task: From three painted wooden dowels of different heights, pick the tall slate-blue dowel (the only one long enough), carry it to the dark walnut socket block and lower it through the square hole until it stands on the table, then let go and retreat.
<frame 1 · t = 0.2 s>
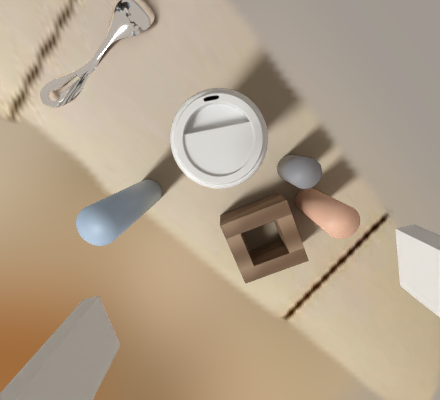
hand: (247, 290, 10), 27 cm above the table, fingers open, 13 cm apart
medium dowel: (308, 200, 37), on the table
short dowel: (290, 167, 36), on the table
silver metal utensil: (100, 59, 33), on the table
tall dowel: (149, 191, 37), on the table
coffee cup: (220, 141, 36), on the table
socket block: (259, 231, 39), on the table
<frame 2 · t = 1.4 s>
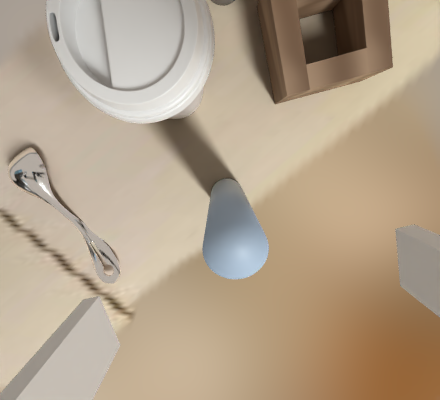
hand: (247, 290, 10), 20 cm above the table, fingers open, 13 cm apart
silver metal utensil: (76, 216, 31), on the table
tall dowel: (226, 193, 30), on the table
coffee cup: (175, 89, 27), on the table
socket block: (310, 45, 26), on the table
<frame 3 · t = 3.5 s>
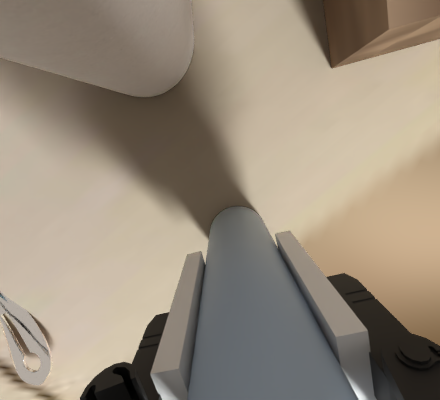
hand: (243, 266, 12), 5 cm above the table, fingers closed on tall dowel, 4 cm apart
tall dowel: (237, 233, 17), on the table, touching gripper
coffee cup: (141, 40, 14), on the table
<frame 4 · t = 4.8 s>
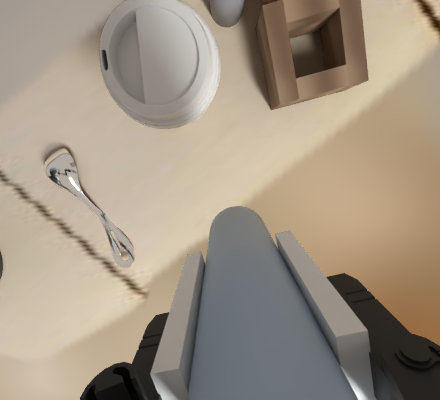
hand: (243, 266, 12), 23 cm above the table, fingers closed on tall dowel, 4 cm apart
short dowel: (226, 8, 29), on the table
silver metal utensil: (98, 208, 36), on the table
tall dowel: (237, 233, 17), point 18 cm above the table, touching gripper
coffee cup: (185, 97, 32), on the table
socket block: (301, 60, 30), on the table
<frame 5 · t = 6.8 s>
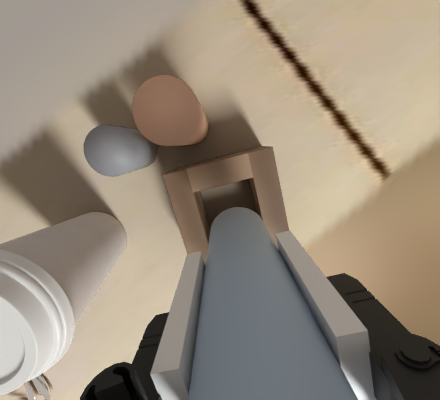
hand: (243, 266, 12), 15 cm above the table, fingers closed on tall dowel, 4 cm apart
medium dowel: (189, 125, 25), on the table
short dowel: (138, 149, 25), on the table
silver metal utensil: (11, 344, 32), on the table
tall dowel: (237, 233, 17), point 10 cm above the table, touching gripper
coffee cup: (100, 237, 28), on the table
socket block: (228, 201, 27), on the table
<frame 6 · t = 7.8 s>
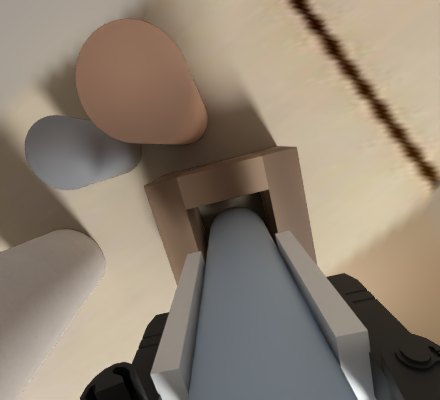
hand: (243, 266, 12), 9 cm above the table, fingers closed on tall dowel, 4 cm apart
medium dowel: (182, 119, 19), on the table
short dowel: (117, 150, 19), on the table
tall dowel: (237, 233, 17), point 4 cm above the table, touching gripper
coffee cup: (72, 260, 22), on the table
socket block: (233, 216, 21), on the table
when the fingers open (7 cm above the table, at t = 8.4 s): tall dowel drops 2 cm, resting in socket block.
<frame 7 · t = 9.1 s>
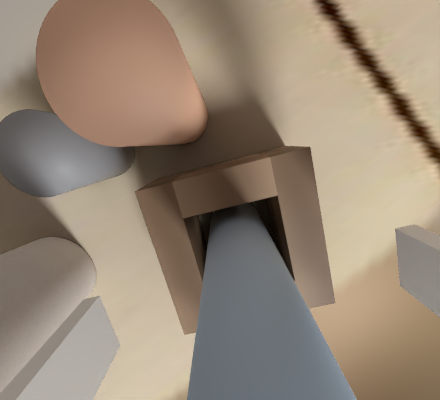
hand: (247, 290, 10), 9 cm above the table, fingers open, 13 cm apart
medium dowel: (180, 115, 17), on the table
short dowel: (108, 150, 18), on the table
tall dowel: (235, 223, 19), resting in socket block
coffee cup: (60, 270, 20), on the table
socket block: (235, 223, 19), on the table
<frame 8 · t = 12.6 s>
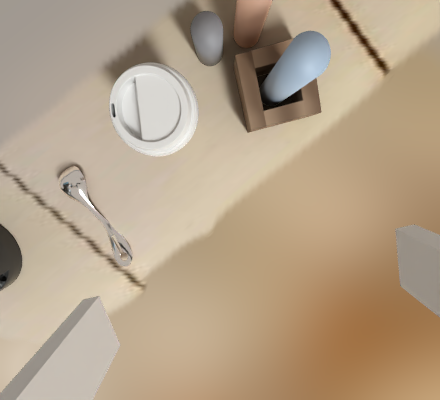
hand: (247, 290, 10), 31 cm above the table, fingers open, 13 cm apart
medium dowel: (246, 32, 35), on the table
short dowel: (209, 51, 35), on the table
silver metal utensil: (102, 216, 42), on the table
tall dowel: (271, 92, 37), resting in socket block
coffee cup: (177, 122, 38), on the table
socket block: (271, 92, 37), on the table
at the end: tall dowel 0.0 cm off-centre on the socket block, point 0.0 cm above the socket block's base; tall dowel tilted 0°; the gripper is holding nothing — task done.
